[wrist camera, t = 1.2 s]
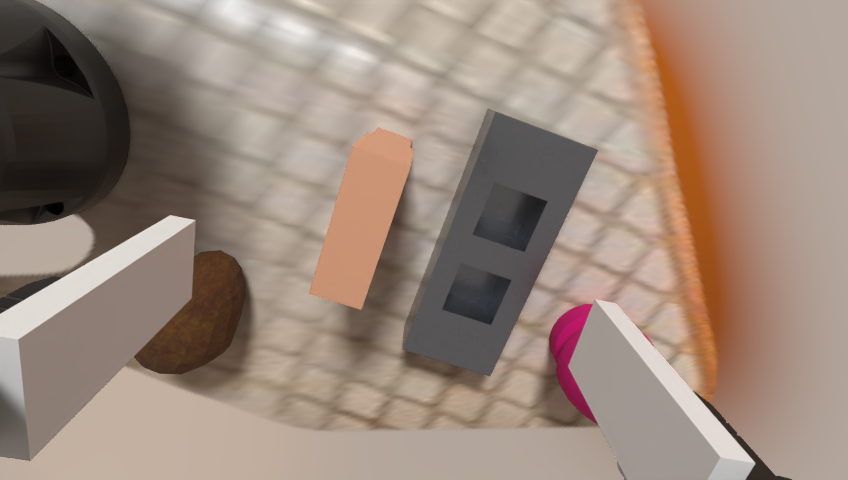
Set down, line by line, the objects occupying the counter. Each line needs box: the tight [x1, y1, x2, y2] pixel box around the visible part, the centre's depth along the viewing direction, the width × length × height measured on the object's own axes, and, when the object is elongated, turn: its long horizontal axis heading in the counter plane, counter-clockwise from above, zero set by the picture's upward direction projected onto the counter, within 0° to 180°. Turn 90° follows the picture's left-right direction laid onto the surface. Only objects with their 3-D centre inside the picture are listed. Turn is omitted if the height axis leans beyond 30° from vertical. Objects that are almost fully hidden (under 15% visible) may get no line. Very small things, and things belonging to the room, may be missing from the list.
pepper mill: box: [550, 304, 656, 480], centre depth 27 cm, size 7×7×20 cm
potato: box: [134, 251, 245, 374], centre depth 33 cm, size 7×10×7 cm
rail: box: [402, 109, 598, 376], centre depth 33 cm, size 7×18×4 cm, turn 161°
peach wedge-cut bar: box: [309, 128, 414, 310], centre depth 28 cm, size 3×8×10 cm, turn 160°
